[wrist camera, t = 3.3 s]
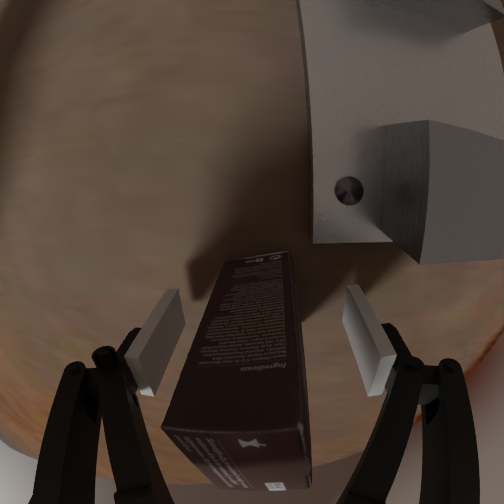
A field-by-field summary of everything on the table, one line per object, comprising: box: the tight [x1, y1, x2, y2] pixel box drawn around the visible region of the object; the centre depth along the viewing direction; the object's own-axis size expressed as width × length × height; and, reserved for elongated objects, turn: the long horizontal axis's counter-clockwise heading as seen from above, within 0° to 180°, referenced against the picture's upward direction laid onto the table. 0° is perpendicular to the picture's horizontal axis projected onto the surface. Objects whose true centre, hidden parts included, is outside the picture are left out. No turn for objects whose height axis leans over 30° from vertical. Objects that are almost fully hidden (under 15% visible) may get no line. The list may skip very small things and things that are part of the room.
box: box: [161, 251, 312, 491], centre depth 12 cm, size 6×4×12 cm
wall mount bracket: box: [296, 0, 504, 265], centre depth 9 cm, size 16×22×6 cm
